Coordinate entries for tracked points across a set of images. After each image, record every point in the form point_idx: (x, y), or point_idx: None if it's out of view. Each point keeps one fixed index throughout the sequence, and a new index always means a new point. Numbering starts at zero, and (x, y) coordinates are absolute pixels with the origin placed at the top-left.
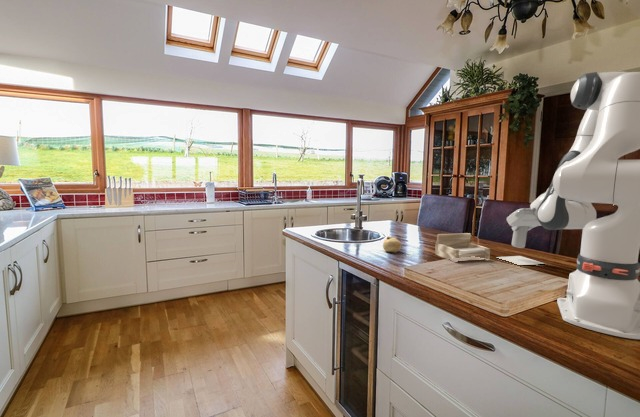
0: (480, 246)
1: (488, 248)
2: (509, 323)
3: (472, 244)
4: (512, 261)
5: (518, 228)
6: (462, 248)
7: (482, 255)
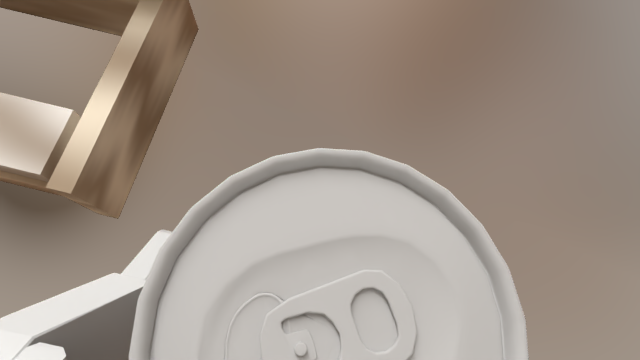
0: (86, 107)
1: (65, 181)
2: None
3: (126, 33)
4: None
5: None
6: (118, 12)
7: (43, 188)
